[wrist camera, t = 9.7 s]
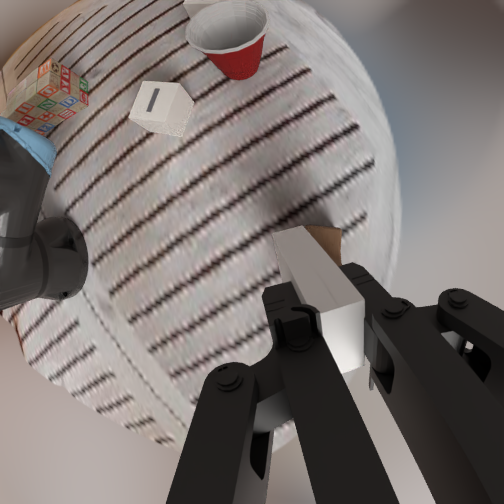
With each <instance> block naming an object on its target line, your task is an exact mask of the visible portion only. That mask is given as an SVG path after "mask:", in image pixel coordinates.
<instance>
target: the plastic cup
mask: <svg viewBox="0 0 504 504" xmlns="http://www.w3.org/2000/svg"><path fill="white" fill-rule="evenodd" d="M269 23H270V18H269V14H268V11H267V10H266V9H265V8H264V7H263V6H262V5H261V4H260V3H257V2H254V1H251V0H223V1H219V2H215V3H213V4H211V5H209V6H207V7H205V8H203V9H201V10H200V11H199V12H198V13H197V14H195V15H194V16H193V17H192V18H191V20H190V22H189V23H188V25H187V27H186V39H187V41H188V42H189V43H190V45H191V46H192V47H193V48H195V49H197V50H200V51H201V52H203V53H204V54H205V55H207V56H208V58H209V59H210V60H211V61H212V62H213V63H214V64H215V65H216V66H217V67H218V69H220V70H221V71H222V72H223V73H224V75H226V76H227V77H229V78H231V79H234V80H244V79H247V78H249V77H251V76H253V75H254V74H255V73H256V72H257V70H258V67H259V64H260V58H261V55H262V48H263V41H264V36H265V33H266V30H267V28H268V26H269Z"/></svg>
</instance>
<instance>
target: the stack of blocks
mask: <svg viewBox="0 0 504 504" xmlns="http://www.w3.org/2000/svg"><path fill="white" fill-rule="evenodd" d="M87 106H88V82H87V81H85V80H84V79H83V78H81V77H79V76H78V75H76V74H75V73H73V72H72V71H70V70H69V69H68V68H66V67H65V66H63V65H62V64H60V63H58V62H57V61H55V60H54V59H52V58H50V59H49V60H48V61H46V62H45V63H44V64H42V65H41V66H40V67H38V68H36V69H35V70H34V71H33V72H31V73H30V74H29V75H28V76H27V77H26V78H25V79H24V80H22V81H21V82H20V83H19V84H18V85H17V86H16V87H15V88H14V89H13V90H12V91H11V92H10V93H9V94H8V97H7V107H6V109H5V110H4V111H3V112H2V113H1V114H0V116H2V117H5V118H7V119H10V120H12V121H14V122H16V123H18V124H20V125H22V126H25V127H27V128H29V129H31V130H33V131H35V132H37V133H39V134H41V135H43V134H45V133H46V132H47V131H48V130H50V129H51V128H53V127H54V126H56V125H57V124H59V123H60V122H62V121H63V120H65V119H67V118H69V117H70V116H72V115H74V114H75V113H77V112H79V111H81V110H82V109H84V108H86V107H87Z"/></svg>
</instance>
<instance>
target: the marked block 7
mask: <svg viewBox="0 0 504 504" xmlns="http://www.w3.org/2000/svg"><path fill="white" fill-rule="evenodd" d="M219 1H223V0H185V1H184V3H183V5H184V7H185V9H186V11H187V13H188V15H189V17H190V19H191V18H192V17H193V16H194V15H195V14H197V13H198V12H199V11H200V10H201V9H203V8H205V7H207V6H209V5H211V4H213V3H215V2H219Z"/></svg>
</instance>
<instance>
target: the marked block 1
mask: <svg viewBox="0 0 504 504" xmlns="http://www.w3.org/2000/svg"><path fill="white" fill-rule="evenodd" d="M193 105H194V101H193V100H192V99H191V97H190V96H189V95H188V93H187V92H186V91H185V89H184V88H183V87H182V86H181V84H180V83H170V82H156V81H143V83H142V85H141V87H140V90H139V92H138V95H137V97H136V99H135V102H134V105H133V107H132V110H131V112H130V115H129V119H131V120H132V121H134V122H135V123H137V124H139V125H140V126H142V127H143V128H145V129H146V130H148V131H149V132H156V133H162V134H168V135H174V136H180V137H182V136H183V133H184V130H185V127H186V124H187V121H188V119H189V116H190V113H191V110H192V107H193Z"/></svg>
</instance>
